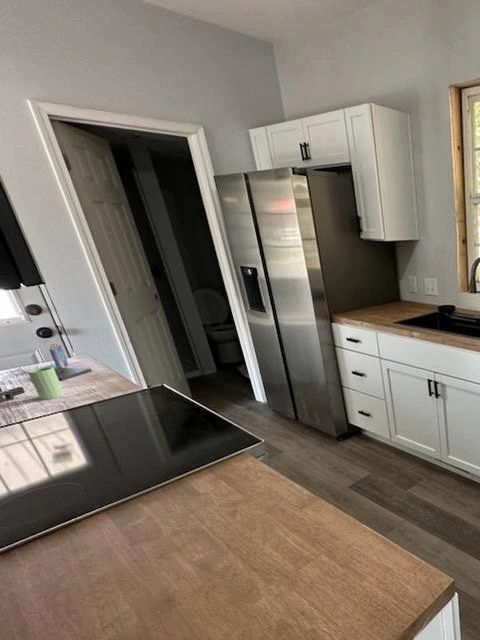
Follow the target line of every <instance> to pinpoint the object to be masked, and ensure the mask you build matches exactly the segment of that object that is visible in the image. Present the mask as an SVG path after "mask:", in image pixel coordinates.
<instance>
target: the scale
mask: <svg viewBox="0 0 480 640" xmlns="http://www.w3.org/2000/svg"><path fill="white" fill-rule="evenodd" d="M56 367H57V368H56V369H54V370H55V372H56V375H57V377H58V379H59V381H60V382H63V381H67V380H70V379H73V378H75V377H79V376H82V375H85V374H88V373H92V372H93V370H92V368H91V367H89V368H88V367H87V368H85V367H84V368H83V367H66V368H62V367H61V366H56Z"/></svg>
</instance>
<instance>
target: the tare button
mask: <svg viewBox="0 0 480 640" xmlns="http://www.w3.org/2000/svg"><path fill="white" fill-rule="evenodd" d="M45 367H53V368H54V369H56V368H57V367H56V364H49V365H46V366H45Z"/></svg>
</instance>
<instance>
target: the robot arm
mask: <svg viewBox="0 0 480 640" xmlns="http://www.w3.org/2000/svg"><path fill="white" fill-rule="evenodd" d="M25 393H26V391H25V388H24V387H22V386H17V387H14V388H10V389H7V390H3V389H2V387H1V386H0V404H2V403H7V402H9V401H13V400H15V397H16V396H19V395H23V394H25Z"/></svg>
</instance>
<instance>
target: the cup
mask: <svg viewBox="0 0 480 640" xmlns="http://www.w3.org/2000/svg"><path fill="white" fill-rule="evenodd" d="M27 375H28V377H29V379H30V380H31V383H32V384H33V387H34V389H35V391H36V394H37V396H38V398H39V400H41V401H47V400H53V399H57V398H60V397H63V396H65V394H66V393H65V390H64V388H63V386H62V384H61V381H59V379H58V377H57V375H56V372H55V370H54V368H53V367H46V366H45V367H38V368H34V369H30V370H28V371H27Z"/></svg>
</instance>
